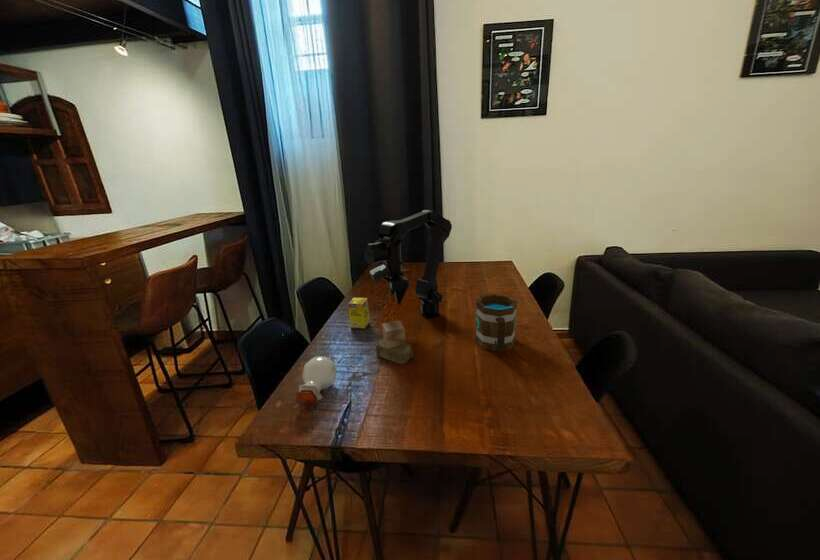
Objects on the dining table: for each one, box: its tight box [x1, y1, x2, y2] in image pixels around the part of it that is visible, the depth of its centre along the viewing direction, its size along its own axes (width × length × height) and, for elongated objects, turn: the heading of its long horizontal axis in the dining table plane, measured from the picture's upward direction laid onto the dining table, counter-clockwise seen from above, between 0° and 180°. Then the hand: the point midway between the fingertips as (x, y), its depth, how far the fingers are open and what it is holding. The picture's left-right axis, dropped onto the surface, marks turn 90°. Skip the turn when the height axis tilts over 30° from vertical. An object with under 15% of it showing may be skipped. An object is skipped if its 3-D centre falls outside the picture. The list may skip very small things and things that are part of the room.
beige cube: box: [381, 320, 407, 349], centre depth 111 cm, size 6×6×6 cm
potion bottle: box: [295, 355, 337, 410], centre depth 96 cm, size 9×10×15 cm
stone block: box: [375, 339, 413, 365], centre depth 112 cm, size 6×12×5 cm, turn 57°
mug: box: [474, 293, 518, 353], centre depth 113 cm, size 20×14×15 cm
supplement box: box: [347, 297, 371, 331], centre depth 133 cm, size 6×6×11 cm
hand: (395, 298), depth 126 cm, fingers open, 9 cm apart
